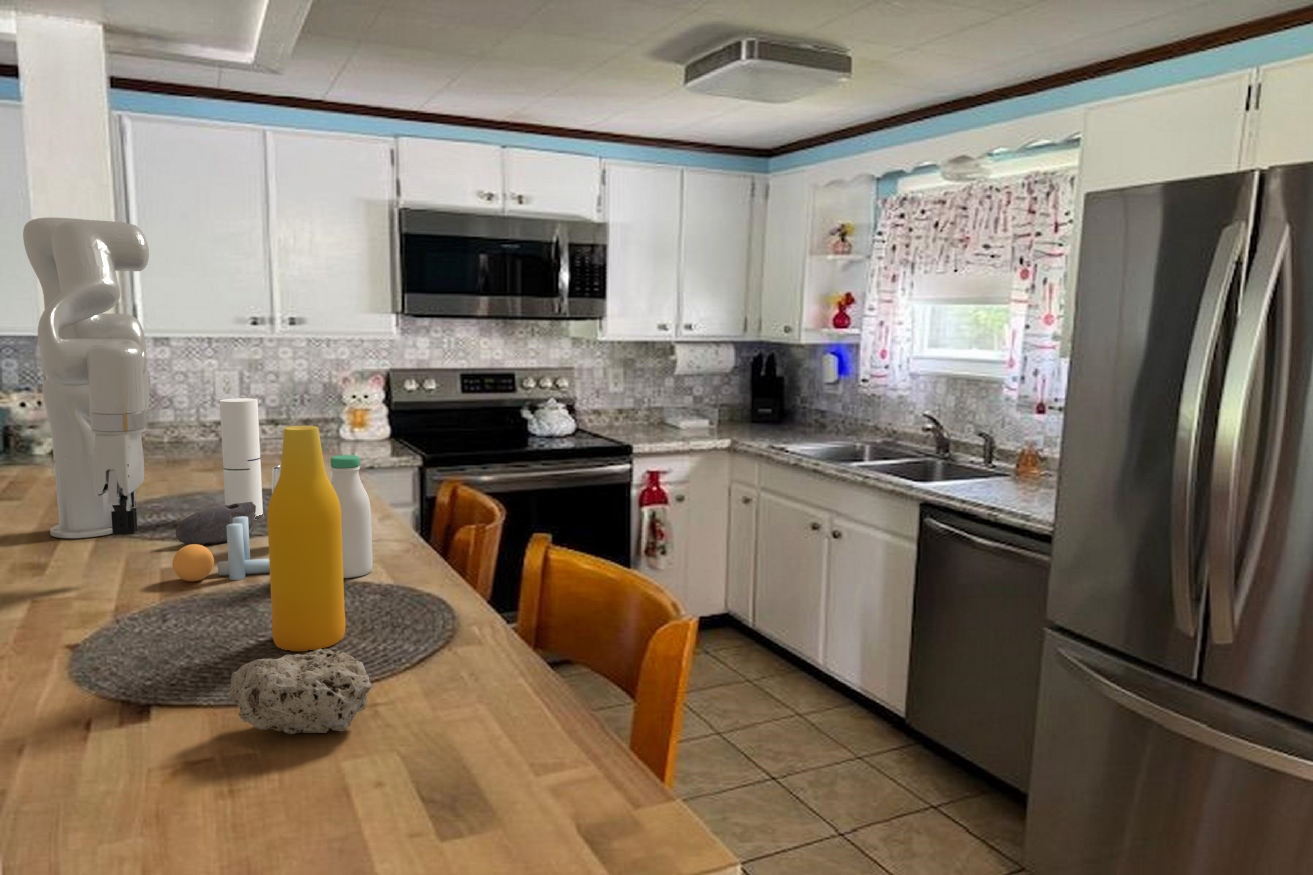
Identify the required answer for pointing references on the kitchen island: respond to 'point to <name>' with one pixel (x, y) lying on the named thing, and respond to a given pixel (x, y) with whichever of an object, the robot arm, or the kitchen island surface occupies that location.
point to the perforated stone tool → (213, 523)
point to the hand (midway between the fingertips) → (125, 532)
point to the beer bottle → (305, 548)
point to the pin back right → (244, 534)
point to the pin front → (247, 567)
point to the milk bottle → (353, 516)
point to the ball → (193, 562)
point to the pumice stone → (301, 692)
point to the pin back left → (235, 551)
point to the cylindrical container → (241, 452)
